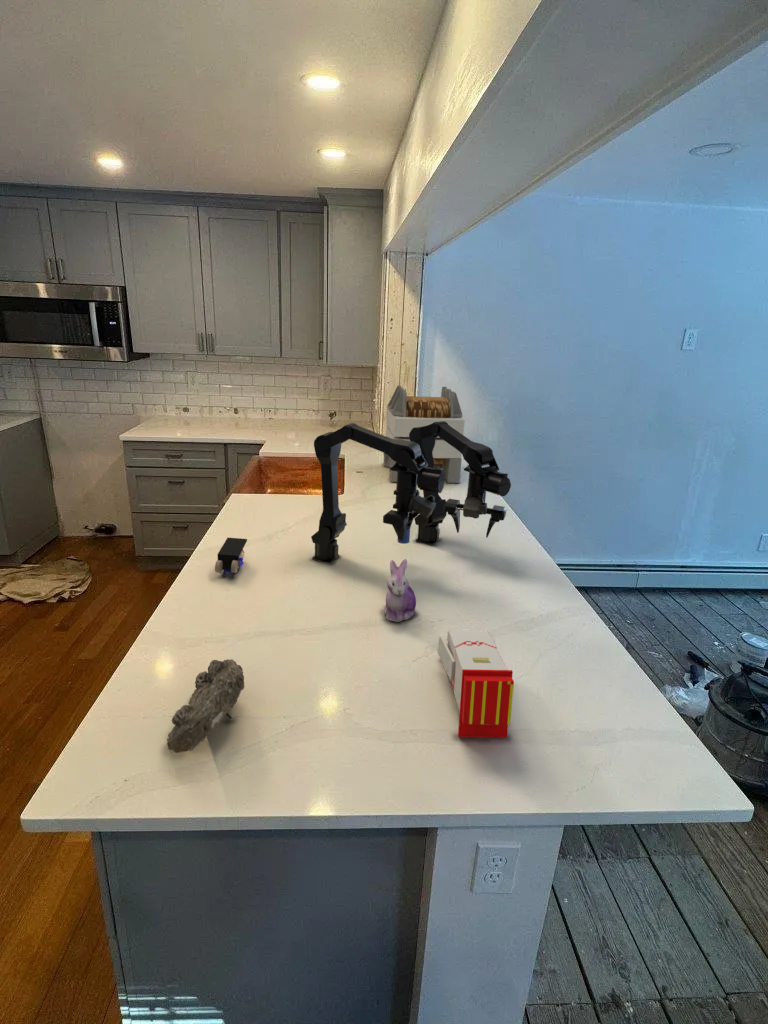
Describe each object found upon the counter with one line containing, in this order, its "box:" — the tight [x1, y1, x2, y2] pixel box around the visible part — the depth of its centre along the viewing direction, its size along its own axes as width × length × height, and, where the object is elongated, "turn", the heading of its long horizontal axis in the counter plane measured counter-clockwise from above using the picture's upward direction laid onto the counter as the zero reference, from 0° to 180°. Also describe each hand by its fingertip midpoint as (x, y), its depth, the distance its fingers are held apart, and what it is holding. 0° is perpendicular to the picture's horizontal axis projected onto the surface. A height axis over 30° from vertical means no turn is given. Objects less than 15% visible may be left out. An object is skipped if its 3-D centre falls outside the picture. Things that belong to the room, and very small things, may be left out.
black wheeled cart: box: [214, 537, 248, 578], centre depth 166 cm, size 7×8×15 cm
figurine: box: [384, 558, 417, 623], centre depth 145 cm, size 9×10×15 cm
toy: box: [437, 628, 515, 738], centre depth 117 cm, size 12×13×30 cm
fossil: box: [166, 658, 245, 754], centre depth 106 cm, size 22×10×15 cm
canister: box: [397, 525, 411, 545], centre depth 165 cm, size 4×4×4 cm
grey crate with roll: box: [383, 384, 465, 484], centre depth 268 cm, size 34×33×41 cm
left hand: (403, 538), depth 165 cm, fingers closed on canister, 3 cm apart
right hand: (472, 534), depth 179 cm, fingers open, 9 cm apart
